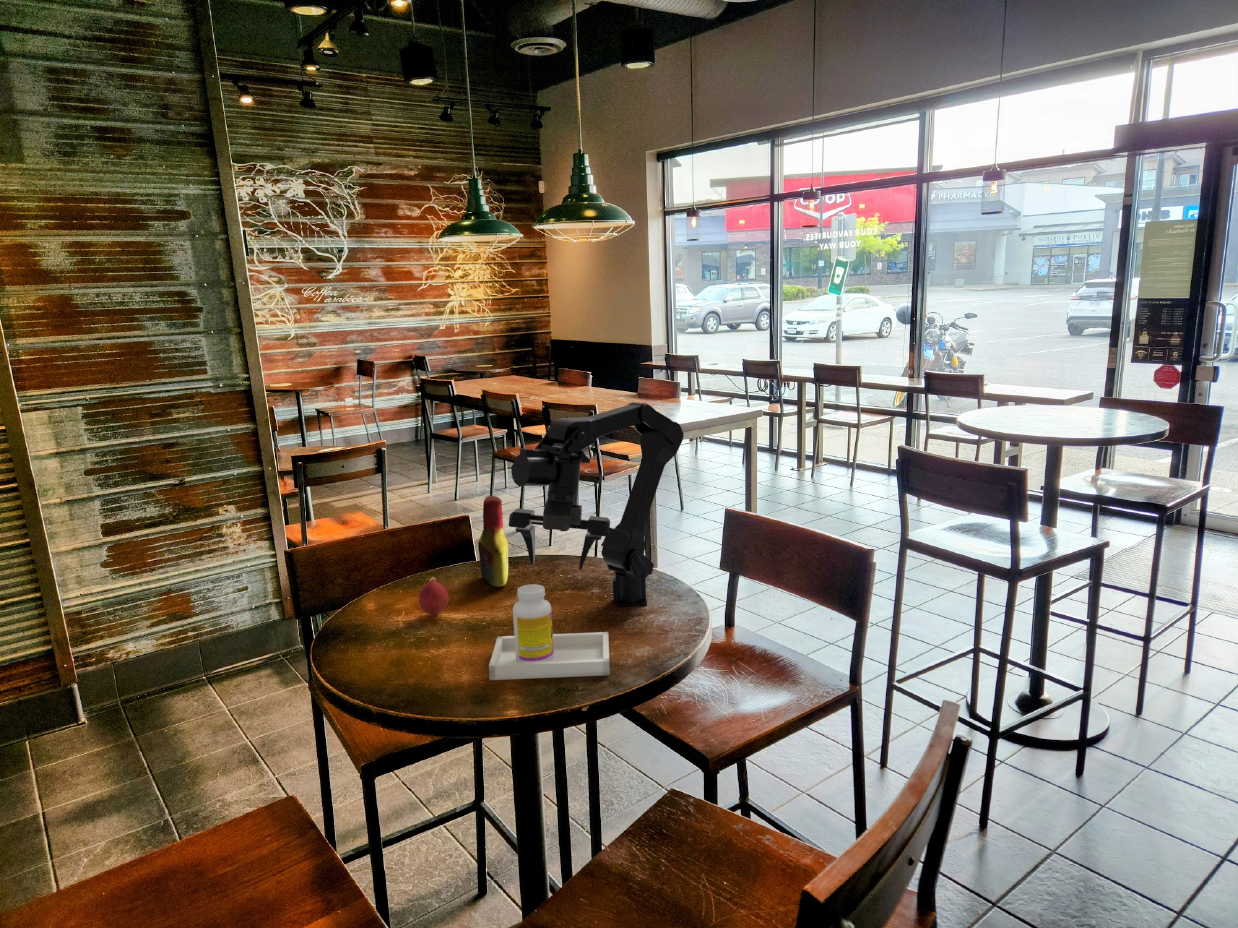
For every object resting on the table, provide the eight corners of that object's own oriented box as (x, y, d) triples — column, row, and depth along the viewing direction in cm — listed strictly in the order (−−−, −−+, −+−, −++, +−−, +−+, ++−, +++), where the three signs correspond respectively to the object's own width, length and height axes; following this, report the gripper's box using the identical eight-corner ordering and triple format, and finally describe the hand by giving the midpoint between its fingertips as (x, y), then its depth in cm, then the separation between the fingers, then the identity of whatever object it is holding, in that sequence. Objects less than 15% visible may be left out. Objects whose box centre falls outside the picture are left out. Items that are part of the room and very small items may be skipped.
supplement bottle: (559, 662, 135) (555, 591, 132) (522, 670, 132) (518, 598, 130) (546, 647, 141) (543, 579, 138) (511, 655, 138) (506, 586, 136)
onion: (434, 623, 155) (431, 584, 154) (414, 617, 158) (410, 580, 157) (455, 613, 160) (452, 575, 159) (435, 608, 163) (432, 571, 162)
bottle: (514, 588, 173) (509, 500, 169) (485, 592, 172) (479, 503, 168) (505, 571, 185) (500, 489, 181) (478, 575, 183) (472, 491, 179)
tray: (608, 644, 143) (608, 631, 142) (609, 674, 131) (609, 661, 131) (498, 649, 142) (497, 636, 142) (489, 680, 131) (488, 666, 130)
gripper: (506, 485, 140) (499, 571, 142) (610, 495, 140) (602, 581, 141) (517, 479, 152) (510, 558, 153) (613, 488, 151) (606, 568, 152)
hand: (556, 566), depth 149 cm, fingers open, 9 cm apart
